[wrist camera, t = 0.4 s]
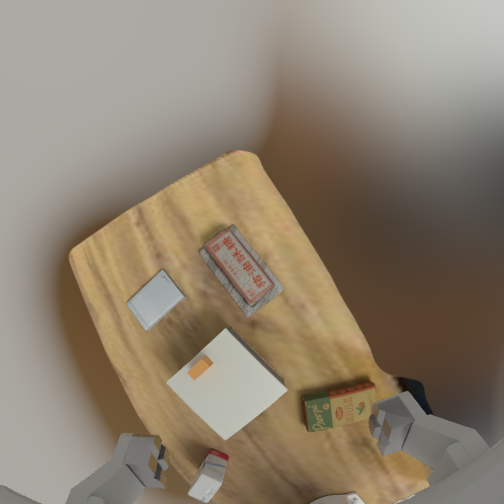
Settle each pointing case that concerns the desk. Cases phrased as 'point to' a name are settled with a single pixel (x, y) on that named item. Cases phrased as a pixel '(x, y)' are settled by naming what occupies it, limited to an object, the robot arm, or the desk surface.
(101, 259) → the desk surface
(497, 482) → the robot arm
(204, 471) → the ink box
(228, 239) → the packaged product
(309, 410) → the carton
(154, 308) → the hard drive
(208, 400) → the lid flap
